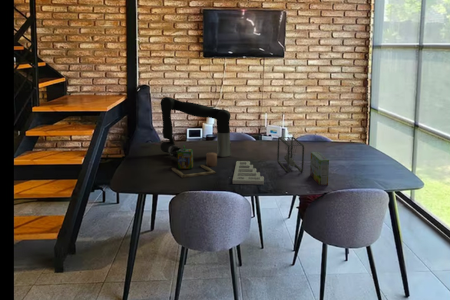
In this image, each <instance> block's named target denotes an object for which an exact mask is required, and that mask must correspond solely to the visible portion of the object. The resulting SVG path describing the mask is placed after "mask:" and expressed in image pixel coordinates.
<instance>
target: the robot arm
mask: <svg viewBox="0 0 450 300" xmlns="http://www.w3.org/2000/svg"><path fill="white" fill-rule="evenodd" d="M160 110H161V116H162V138H163V139H164V140H165V139H166V140H168V141H162V142H161V143H160V150H161V151H162V152H163V153H167V154H169V155H170V157H172V158H173V157H174V158H176V159H178V154H177V152H178V150H179V149H182V148H181V147H179V146H178V145H176V143H175V141H174V137H173V136H174V134H173V131H174V130H173V122H172V117H171V116H172V111H179V112H181V113H184V114H186V115H188V116H192V117H195V118H196V117H197V118H207V119H208V118H209V119H215V120H216V136H217V137H216V140H217V141H216V147H217V148H216V151H217V152H216V153H217V157H221V158H225V157H230V156H232V143H231V128H230V127H231V126H230V119H231V117H232V116H231V112H230V111H228V109H222V108H214V107H210V106H207V105H204V104H200V103H197V102H196V103H195V102H191V101H190V102H189V101H181V100H178V99H175V98H172V97H170V96H164V97H162V98H161V100H160Z"/></svg>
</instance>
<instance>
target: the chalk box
mask: <svg viewBox="0 0 450 300" xmlns="http://www.w3.org/2000/svg"><path fill="white" fill-rule="evenodd" d="M182 146H183V148H181V149H179V150H178V152H177V154H178V158H177V170H184V169H185V170H188V169H189V170H190V169H191V170H192V168H193V167H194V149H193V148H186V146H185V144H183V145H182Z"/></svg>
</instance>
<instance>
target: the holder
mask: <svg viewBox="0 0 450 300" xmlns="http://www.w3.org/2000/svg"><path fill="white" fill-rule="evenodd" d="M233 171H234V172H233V177H232V185H234V184H235V185H265V177H264V176H263V175H262V176H261V172H260V171H258V172H257V168H255V167H254V164H251V161H249V160H237V161H236V162H235V167H234V170H233Z"/></svg>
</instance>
